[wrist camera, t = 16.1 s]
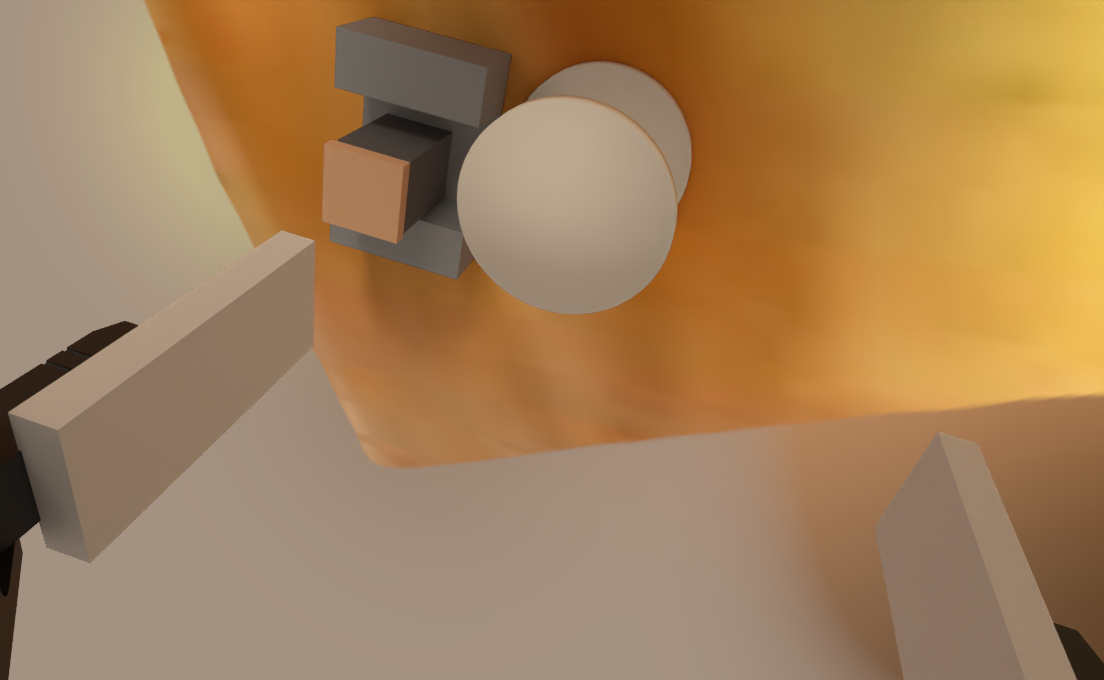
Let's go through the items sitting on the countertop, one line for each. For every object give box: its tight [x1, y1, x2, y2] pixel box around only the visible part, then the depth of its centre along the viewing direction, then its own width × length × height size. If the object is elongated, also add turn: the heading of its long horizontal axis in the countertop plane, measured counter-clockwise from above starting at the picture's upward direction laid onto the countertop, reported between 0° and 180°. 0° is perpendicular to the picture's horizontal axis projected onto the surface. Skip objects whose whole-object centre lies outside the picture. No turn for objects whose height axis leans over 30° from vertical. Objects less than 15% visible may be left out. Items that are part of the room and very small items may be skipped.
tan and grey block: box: [322, 113, 453, 244], centre depth 39 cm, size 4×4×7 cm
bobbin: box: [457, 61, 692, 314], centre depth 36 cm, size 10×10×10 cm
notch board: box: [330, 17, 512, 280], centre depth 40 cm, size 12×8×4 cm, turn 168°
